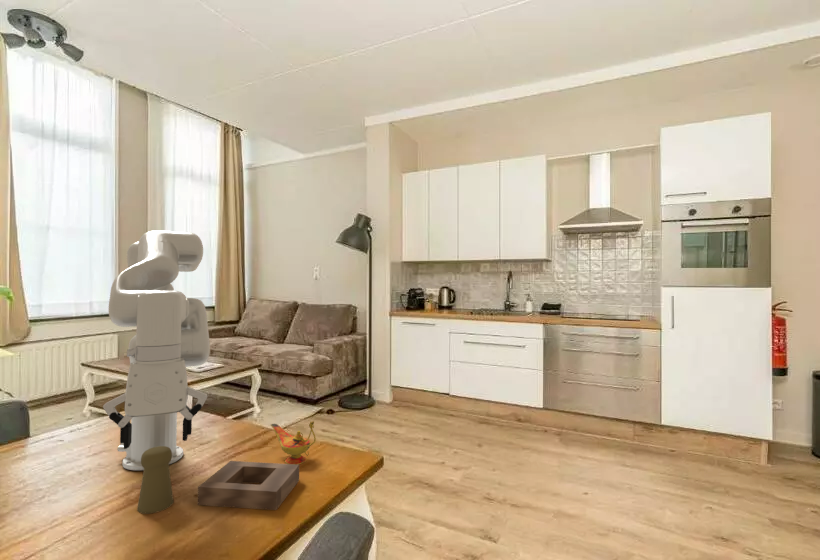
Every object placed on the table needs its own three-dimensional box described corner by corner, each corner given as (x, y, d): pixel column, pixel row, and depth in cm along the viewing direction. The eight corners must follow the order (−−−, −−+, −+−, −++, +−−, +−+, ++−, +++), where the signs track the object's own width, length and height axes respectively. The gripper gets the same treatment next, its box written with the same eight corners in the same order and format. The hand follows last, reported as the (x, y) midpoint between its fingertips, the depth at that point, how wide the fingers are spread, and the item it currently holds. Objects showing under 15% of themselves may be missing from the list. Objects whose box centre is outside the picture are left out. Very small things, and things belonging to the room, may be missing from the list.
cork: (156, 515, 76) (157, 456, 76) (129, 511, 78) (130, 453, 78) (180, 499, 82) (181, 444, 82) (155, 495, 83) (156, 441, 84)
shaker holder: (197, 504, 80) (197, 486, 80) (230, 476, 92) (230, 460, 92) (276, 510, 79) (276, 491, 79) (299, 480, 91) (299, 464, 91)
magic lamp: (282, 445, 110) (283, 404, 110) (326, 463, 99) (327, 418, 99) (259, 453, 105) (260, 410, 105) (303, 473, 94) (303, 425, 94)
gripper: (99, 359, 73) (97, 456, 72) (207, 353, 80) (206, 442, 80) (110, 354, 80) (107, 443, 79) (208, 349, 87) (207, 430, 86)
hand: (157, 442), depth 79 cm, fingers open, 9 cm apart
